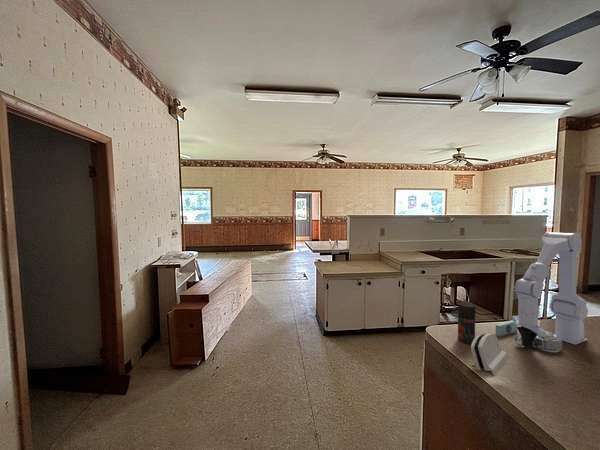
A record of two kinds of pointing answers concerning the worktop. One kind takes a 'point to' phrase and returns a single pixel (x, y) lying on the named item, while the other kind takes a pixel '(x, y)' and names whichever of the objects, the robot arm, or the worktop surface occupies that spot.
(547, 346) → the elbow
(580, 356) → the worktop surface
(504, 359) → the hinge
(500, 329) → the pale teal rectangular bar
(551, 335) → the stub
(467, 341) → the deodorant
